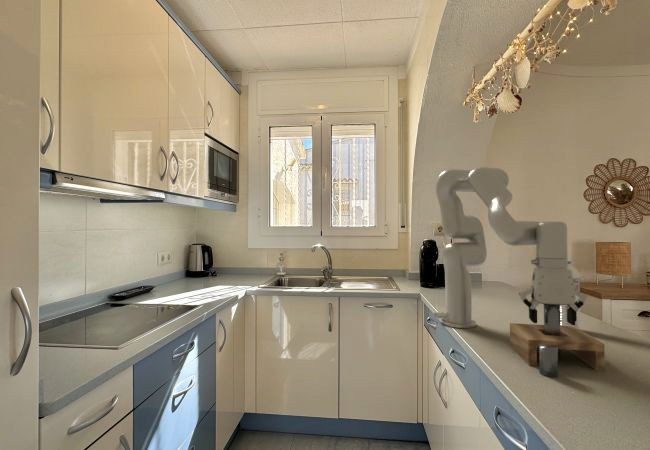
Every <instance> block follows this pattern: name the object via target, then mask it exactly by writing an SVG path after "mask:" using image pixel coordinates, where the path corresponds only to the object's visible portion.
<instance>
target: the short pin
mask: <svg viewBox="0 0 650 450" xmlns="http://www.w3.org/2000/svg"><path fill="white" fill-rule="evenodd" d="M538 352H539V354H538V355H539V356H538V357H539V360H538V361H539V374H540V375H541V376H544V377H547V378H551V379H553V378H554V379H555V378H558V377H559V359H558V348H557V347H556V346H553V345H548V344H540V345H539V349H538Z"/></svg>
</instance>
